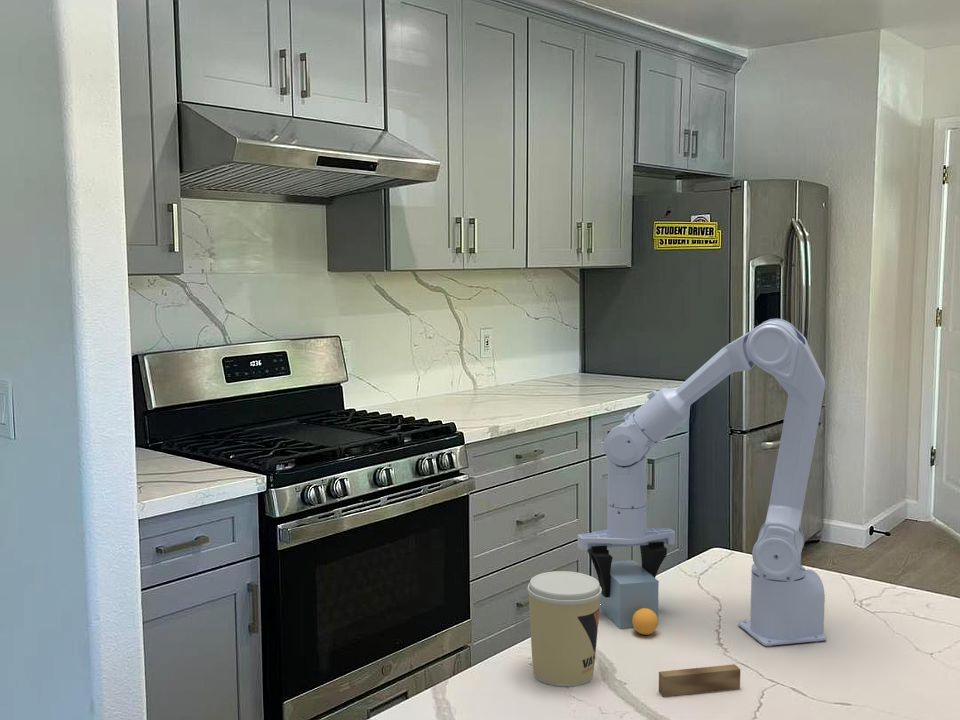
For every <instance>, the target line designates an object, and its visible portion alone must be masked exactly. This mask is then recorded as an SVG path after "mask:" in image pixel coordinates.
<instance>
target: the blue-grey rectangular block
mask: <svg viewBox="0 0 960 720" xmlns="http://www.w3.org/2000/svg"><path fill="white" fill-rule="evenodd" d="M597 581H598V582H599V580H598V579H597ZM659 582H660V581H659V580H658V579H657V578H656V577H655V578H654V577H653V576H652V575H651V574H650V573H648V572H647V571H646V570H645V569H644V568H643V567H642V565H640V564H639V563H638V562H637V561H635V560H634V559H633V560H619V561H612V563H611V571H610V597H604V596H603V595H602V594H601V596H600V604H601V605H600V607H599V609H601V610H602V611H603V612H604V614H605V615H607V616H608V618H609V619H610V620H611V621H612V622H613V623H614V625H615V626H617V628H618V629H619V630H623V629H635V628H634V626H633V623H632V619H633V615H634V614H635V612H636V611H638V610H639V609H642V608H647V609H650V610H652V611H653V612H654V613H655V614H656V615H657V618H658V619H659ZM599 585H600V584H599Z"/></svg>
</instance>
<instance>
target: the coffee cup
mask: <svg viewBox="0 0 960 720" xmlns="http://www.w3.org/2000/svg"><path fill="white" fill-rule="evenodd" d="M527 593H528V607H529V608H528V609H529V625H530V626H529V628H530V630H529V631H530V644H531V645H530V646H531V660H532V671H533V672H532V673H533V676H534V677H535V678H536V679H537V680H539V681H540V682H542V683H544V684H547V685H550V686H556V687H577V686H581V685H584V684H587V683H588V682H590V681H591V680H592V678H593V677H594V673H595V672H594V671H595V662H596V651H597V640H598V631H599V630H598V629H599V620H600V619H599V618H600V617H599V616H600V596H601V593H602V589H601V586H600V585H599V582H598V579H596V578H595V577H593V576H591V575H588V574H585V573H582V572H576V571H575V572H574V571H570V570H569V571H568V570H567V571H566V570H563V571H561V570H559V571H557V570H556V571H554V570H553V571H547V572H542V573H539V574H536V575H535V576H532V577H531V579H530V580H529V583H528V585H527Z"/></svg>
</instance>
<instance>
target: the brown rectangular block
mask: <svg viewBox="0 0 960 720" xmlns="http://www.w3.org/2000/svg"><path fill="white" fill-rule="evenodd" d="M740 689H741V668H740V667H738V666H737V665H736V664H735V663H734V664H733V663H732V664H725V665H724V664H723V665H714V666H705V667H703V666H701V667H693V668H692V667H691V668H683V669H673V670H663V671H658V692H659V694H660V695H661V696H662V697H663V698H665V697H666V698H667V697H674V696H675V697H676V696H684V695H693V694H704V693H713V691H714V692H723V691H724V690H725V691H734V690H740Z"/></svg>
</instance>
